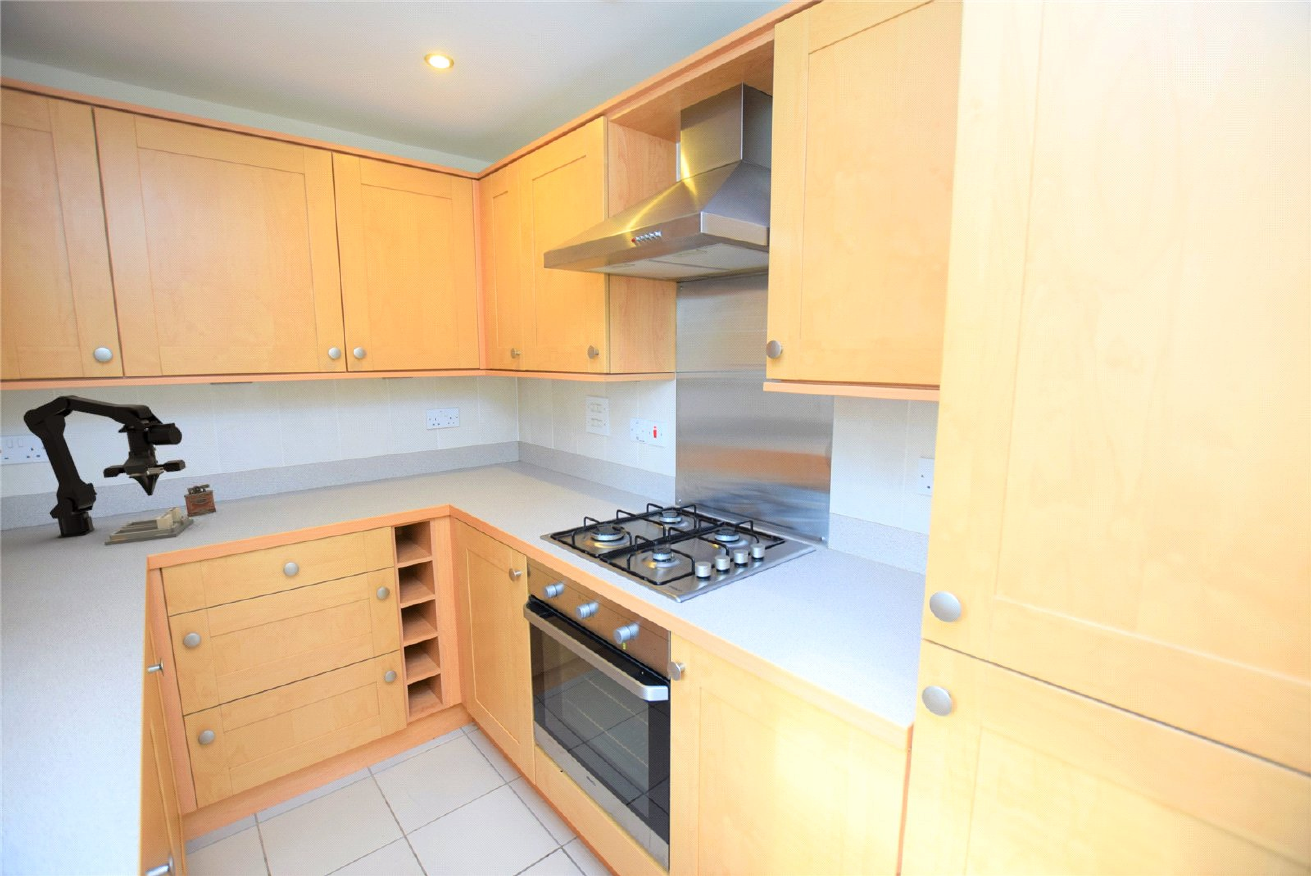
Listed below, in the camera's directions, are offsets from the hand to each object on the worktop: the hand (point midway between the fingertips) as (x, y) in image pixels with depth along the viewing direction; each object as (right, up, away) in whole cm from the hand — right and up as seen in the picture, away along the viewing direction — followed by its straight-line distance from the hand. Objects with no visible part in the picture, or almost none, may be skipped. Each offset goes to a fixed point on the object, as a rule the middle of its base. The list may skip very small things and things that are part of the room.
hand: (150, 495), depth 183 cm
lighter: (+2, -8, +18) cm, 20 cm away
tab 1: (+8, -10, -3) cm, 14 cm away
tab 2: (+5, -9, +4) cm, 11 cm away
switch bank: (+2, -11, -1) cm, 12 cm away
